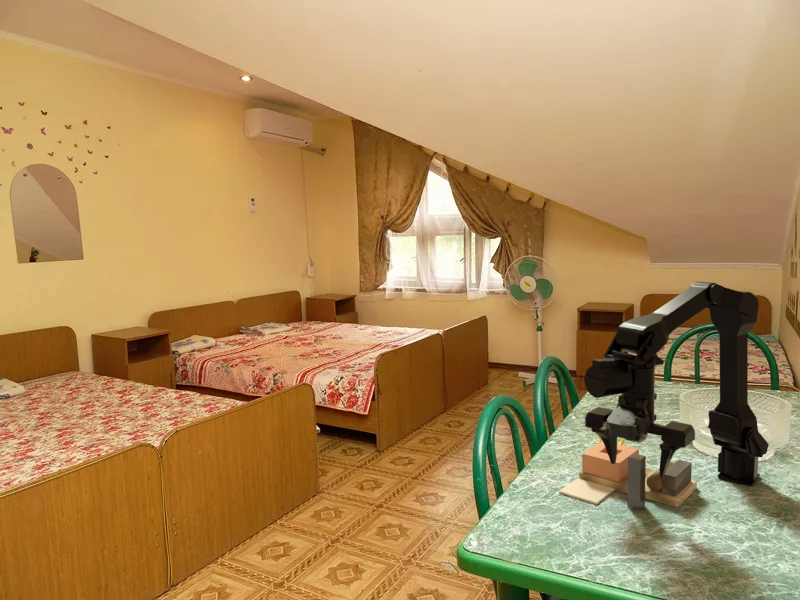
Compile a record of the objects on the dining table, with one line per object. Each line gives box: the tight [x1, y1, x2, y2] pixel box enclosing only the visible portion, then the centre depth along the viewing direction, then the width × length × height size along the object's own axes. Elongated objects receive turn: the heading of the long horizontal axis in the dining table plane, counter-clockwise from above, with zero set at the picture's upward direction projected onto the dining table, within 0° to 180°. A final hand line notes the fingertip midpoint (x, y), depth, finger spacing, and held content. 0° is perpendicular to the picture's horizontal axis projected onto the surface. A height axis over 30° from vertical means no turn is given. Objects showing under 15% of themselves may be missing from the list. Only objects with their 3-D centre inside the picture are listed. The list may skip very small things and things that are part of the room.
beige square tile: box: [559, 478, 616, 505], centre depth 119 cm, size 8×8×1 cm
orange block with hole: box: [581, 441, 640, 482], centre depth 125 cm, size 8×10×4 cm
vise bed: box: [578, 459, 698, 508], centre depth 121 cm, size 20×11×6 cm, turn 46°
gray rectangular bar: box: [626, 453, 647, 511], centre depth 111 cm, size 2×2×10 cm
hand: (637, 469), depth 111 cm, fingers open, 9 cm apart
